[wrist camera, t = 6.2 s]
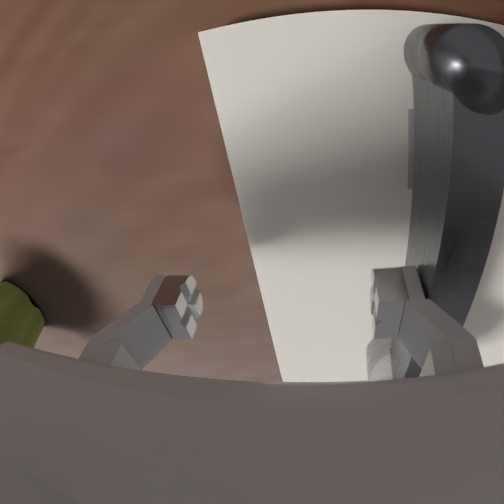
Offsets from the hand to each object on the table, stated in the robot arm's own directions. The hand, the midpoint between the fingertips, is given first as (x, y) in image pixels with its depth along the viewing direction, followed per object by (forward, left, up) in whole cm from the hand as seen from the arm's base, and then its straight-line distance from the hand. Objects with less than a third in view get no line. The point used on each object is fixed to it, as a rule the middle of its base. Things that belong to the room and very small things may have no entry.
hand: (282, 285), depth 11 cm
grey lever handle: (+1, +5, -2) cm, 6 cm away
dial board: (+1, +7, -4) cm, 8 cm away
